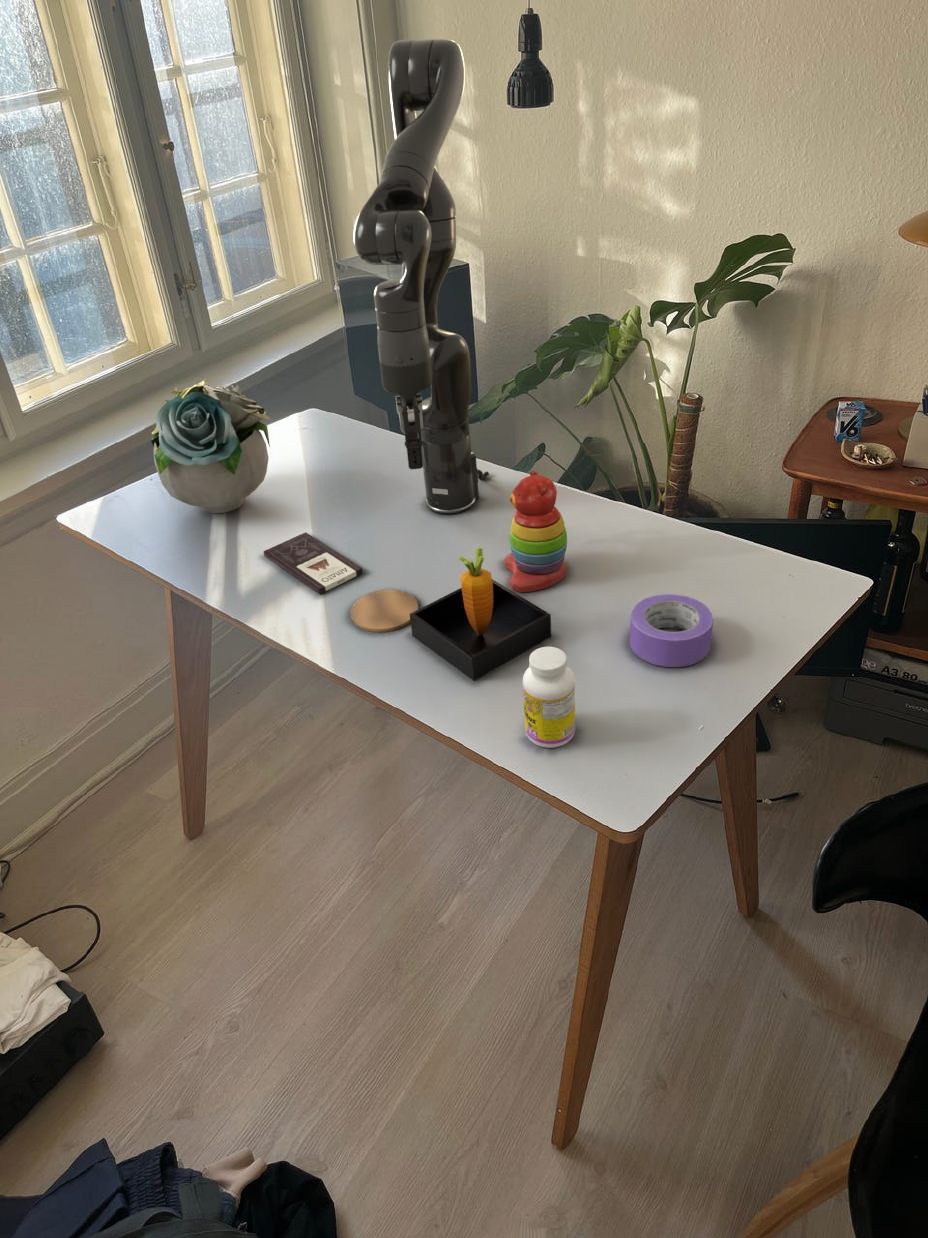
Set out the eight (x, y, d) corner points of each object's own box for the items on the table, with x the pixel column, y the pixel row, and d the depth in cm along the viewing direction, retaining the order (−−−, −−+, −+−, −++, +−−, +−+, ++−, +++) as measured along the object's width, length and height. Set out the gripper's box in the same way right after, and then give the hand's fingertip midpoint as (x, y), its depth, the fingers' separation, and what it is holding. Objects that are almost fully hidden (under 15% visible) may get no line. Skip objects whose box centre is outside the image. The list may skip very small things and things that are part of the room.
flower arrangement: (311, 488, 185) (288, 372, 171) (223, 547, 168) (190, 423, 154) (223, 466, 197) (195, 355, 182) (133, 519, 180) (94, 401, 166)
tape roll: (646, 612, 142) (648, 585, 139) (721, 631, 137) (724, 604, 134) (617, 655, 134) (618, 627, 131) (694, 677, 129) (697, 648, 126)
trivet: (393, 584, 154) (392, 582, 154) (432, 612, 147) (432, 608, 146) (337, 611, 149) (337, 608, 148) (375, 641, 142) (375, 638, 141)
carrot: (474, 648, 138) (466, 564, 129) (459, 632, 141) (451, 549, 133) (503, 638, 139) (497, 554, 131) (487, 622, 143) (481, 539, 134)
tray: (487, 596, 149) (485, 574, 147) (551, 636, 139) (550, 614, 137) (412, 635, 142) (409, 613, 139) (473, 681, 132) (471, 658, 129)
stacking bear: (503, 559, 158) (497, 466, 147) (560, 552, 158) (559, 459, 148) (511, 594, 149) (506, 497, 139) (573, 587, 149) (572, 490, 139)
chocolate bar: (305, 532, 169) (362, 568, 157) (306, 536, 169) (362, 572, 158) (263, 551, 164) (318, 589, 152) (264, 555, 165) (319, 594, 153)
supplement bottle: (522, 719, 125) (518, 644, 117) (570, 713, 125) (569, 638, 117) (529, 753, 119) (525, 677, 112) (579, 747, 119) (579, 671, 112)
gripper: (433, 369, 129) (441, 473, 138) (426, 337, 141) (434, 436, 150) (380, 374, 129) (392, 478, 138) (377, 342, 140) (389, 440, 150)
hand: (414, 456), depth 144 cm, fingers open, 8 cm apart
